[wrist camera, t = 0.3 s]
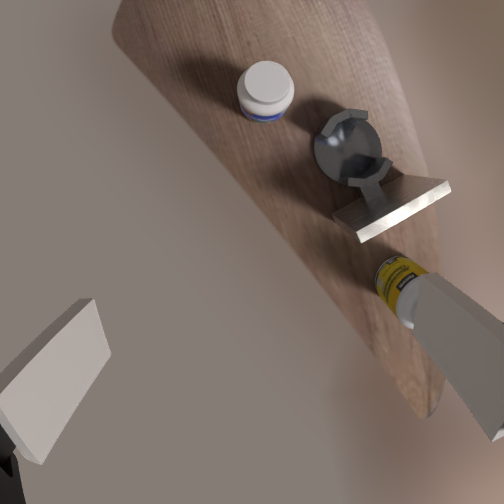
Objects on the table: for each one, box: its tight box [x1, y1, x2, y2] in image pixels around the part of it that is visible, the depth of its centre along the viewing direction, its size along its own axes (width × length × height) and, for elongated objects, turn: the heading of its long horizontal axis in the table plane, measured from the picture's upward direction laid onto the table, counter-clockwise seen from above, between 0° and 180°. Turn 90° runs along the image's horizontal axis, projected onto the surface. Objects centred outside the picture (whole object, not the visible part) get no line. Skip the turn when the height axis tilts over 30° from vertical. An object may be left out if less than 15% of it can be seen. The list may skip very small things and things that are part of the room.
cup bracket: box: [313, 109, 451, 243], centre depth 29 cm, size 11×11×10 cm
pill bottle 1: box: [237, 61, 294, 124], centre depth 28 cm, size 5×5×10 cm
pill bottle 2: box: [375, 256, 429, 329], centre depth 33 cm, size 6×6×12 cm
